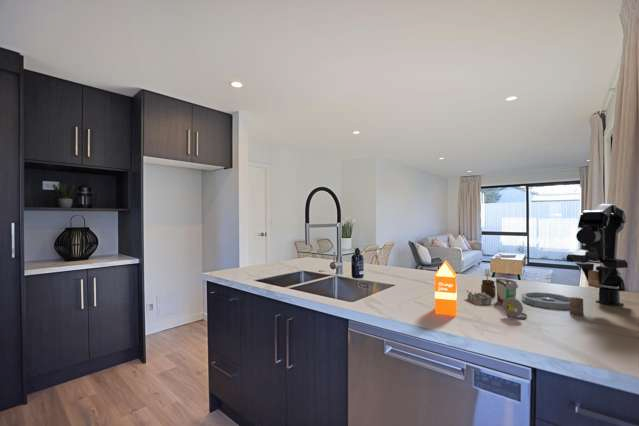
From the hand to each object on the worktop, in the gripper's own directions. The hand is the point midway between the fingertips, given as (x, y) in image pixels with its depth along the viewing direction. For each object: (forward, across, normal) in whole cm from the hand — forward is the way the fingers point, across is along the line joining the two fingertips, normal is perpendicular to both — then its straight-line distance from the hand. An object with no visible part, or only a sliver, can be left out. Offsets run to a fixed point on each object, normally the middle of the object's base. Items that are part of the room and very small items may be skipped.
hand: (595, 283), depth 120 cm
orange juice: (+12, -12, -56) cm, 58 cm away
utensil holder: (+11, -30, -23) cm, 40 cm away
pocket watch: (+12, -1, -35) cm, 37 cm away
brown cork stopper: (+1, 0, 0) cm, 1 cm away
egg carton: (+12, -22, -34) cm, 42 cm away
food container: (+11, -15, -25) cm, 31 cm away
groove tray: (+11, -14, -7) cm, 19 cm away
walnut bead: (+11, +1, -10) cm, 15 cm away
